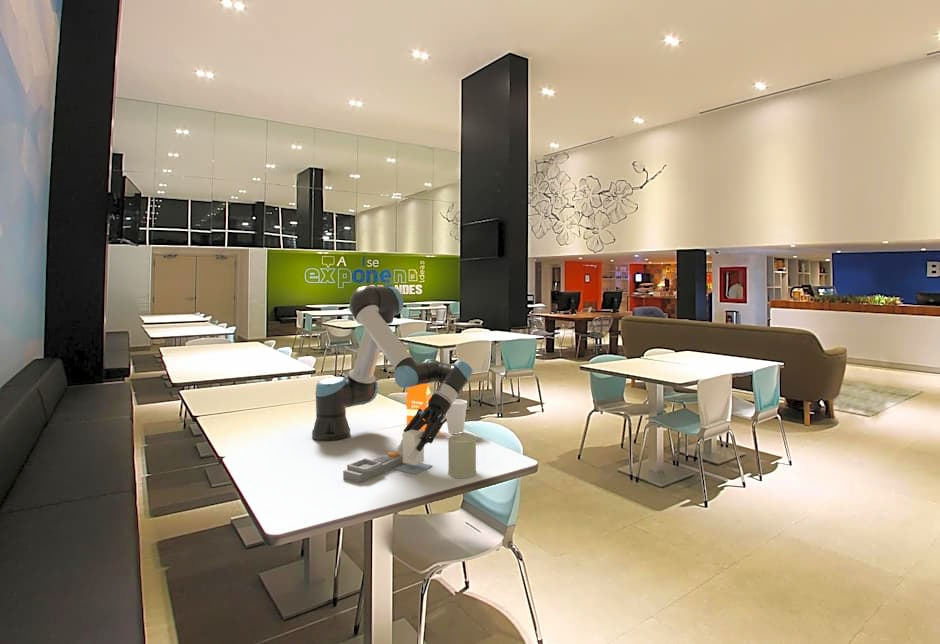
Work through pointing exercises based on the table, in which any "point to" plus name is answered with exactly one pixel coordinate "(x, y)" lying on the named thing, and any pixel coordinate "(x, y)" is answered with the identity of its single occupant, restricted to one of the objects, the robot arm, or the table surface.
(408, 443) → the white tall block
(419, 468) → the mat
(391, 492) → the table surface
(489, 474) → the table surface
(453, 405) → the foam cup
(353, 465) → the strip
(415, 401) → the orange juice
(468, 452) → the can
